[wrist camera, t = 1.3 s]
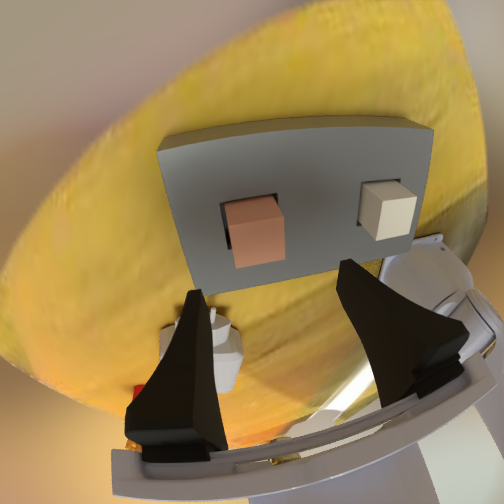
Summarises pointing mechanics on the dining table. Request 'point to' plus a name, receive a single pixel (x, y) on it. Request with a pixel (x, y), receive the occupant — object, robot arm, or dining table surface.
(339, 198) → the key box
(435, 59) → the dining table surface
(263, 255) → the terracotta key
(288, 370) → the dining table surface
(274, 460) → the ceramic cup
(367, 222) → the offwhite key
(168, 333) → the charger
